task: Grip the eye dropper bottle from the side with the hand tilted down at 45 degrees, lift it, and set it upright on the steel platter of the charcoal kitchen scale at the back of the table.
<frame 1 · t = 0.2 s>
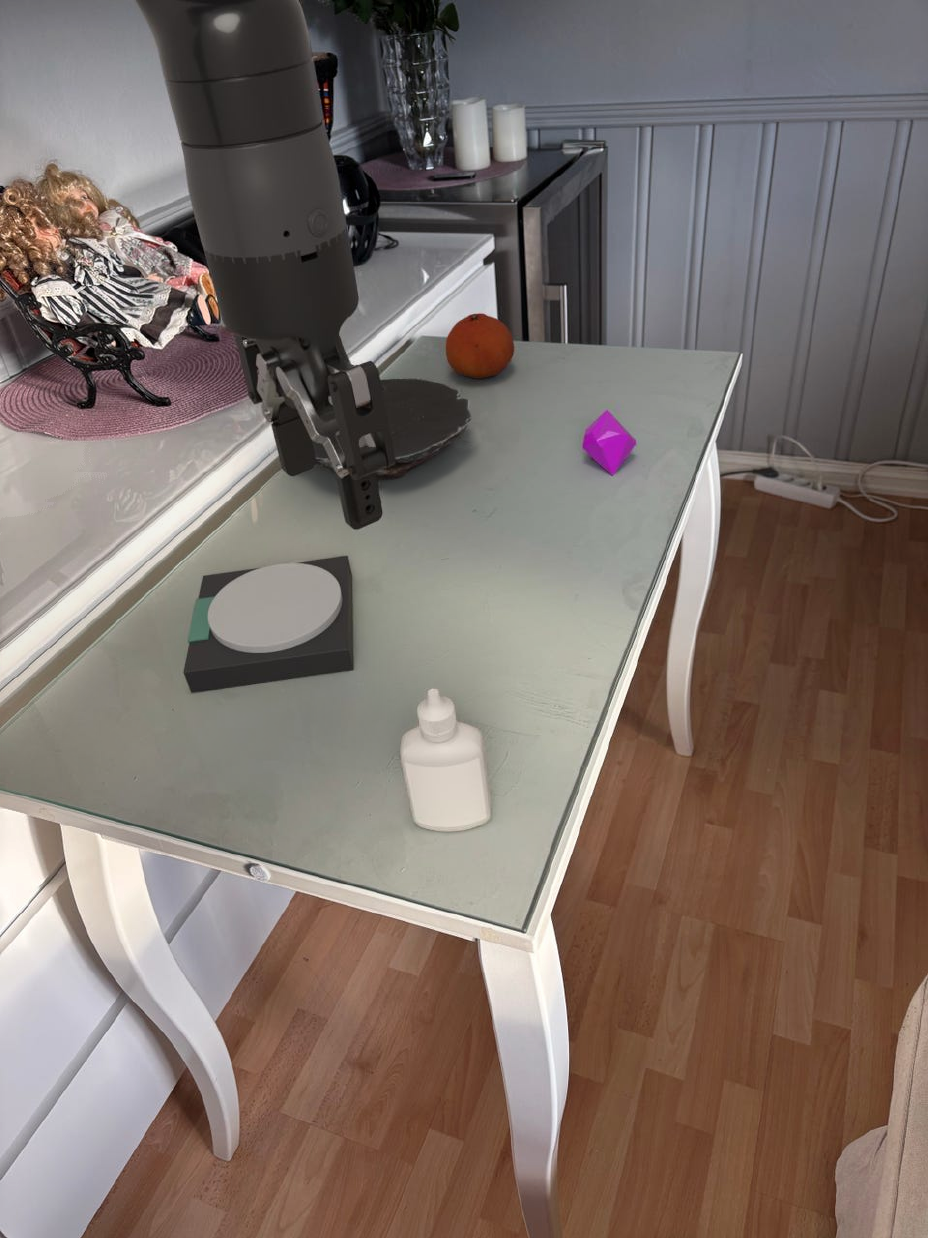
hand: (331, 495, 57), 22 cm above the table, tool pointing down, fingers open, 8 cm apart
scale: (276, 630, 83), on the table
eye dropper bottle: (453, 815, 65), on the table
fruit: (482, 375, 122), on the table
crystal: (609, 462, 101), on the table
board: (383, 454, 108), on the table
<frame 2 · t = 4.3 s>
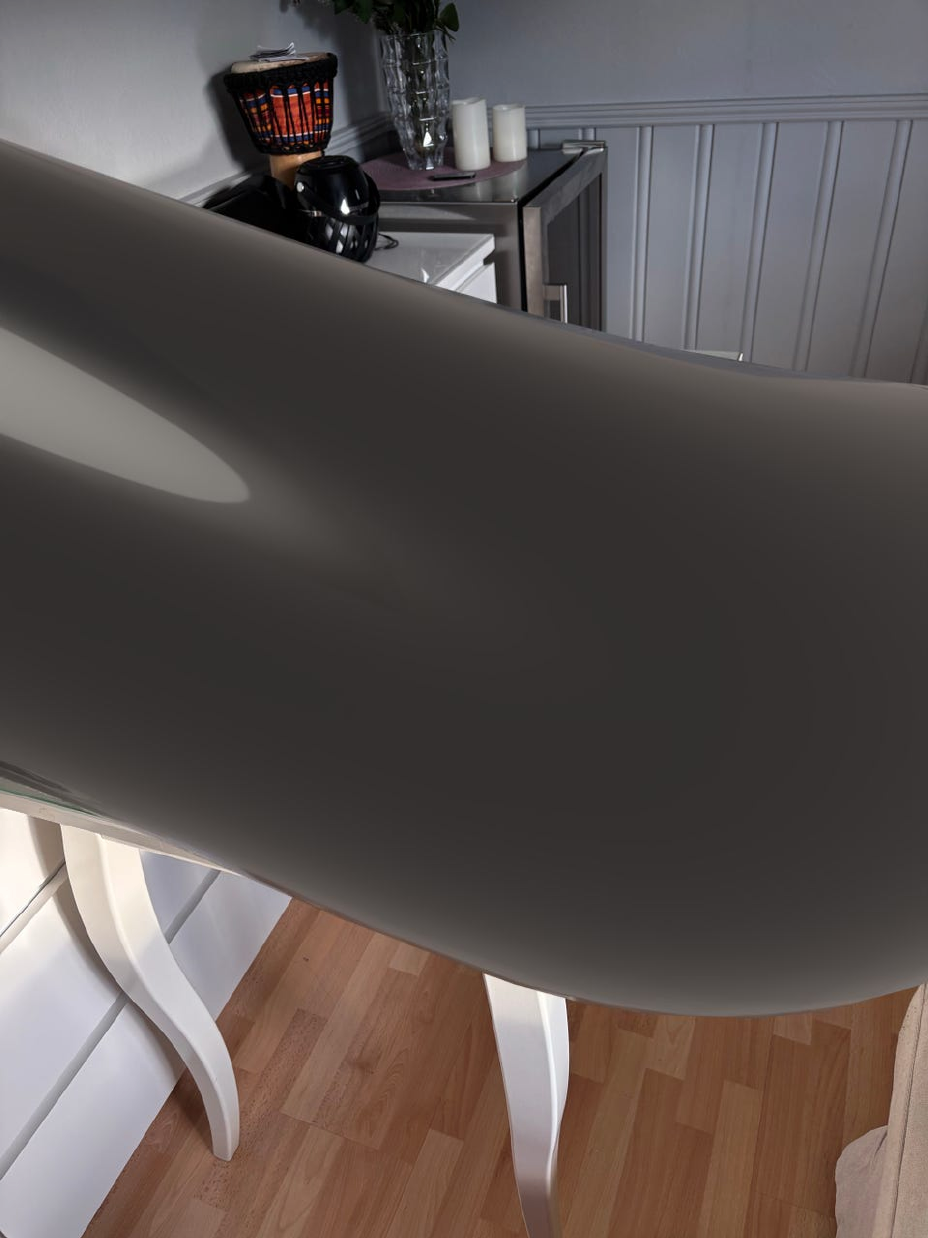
hand: (541, 752, 47), 16 cm above the table, tool tilted 45°, fingers open, 8 cm apart
nothing on the table moved.
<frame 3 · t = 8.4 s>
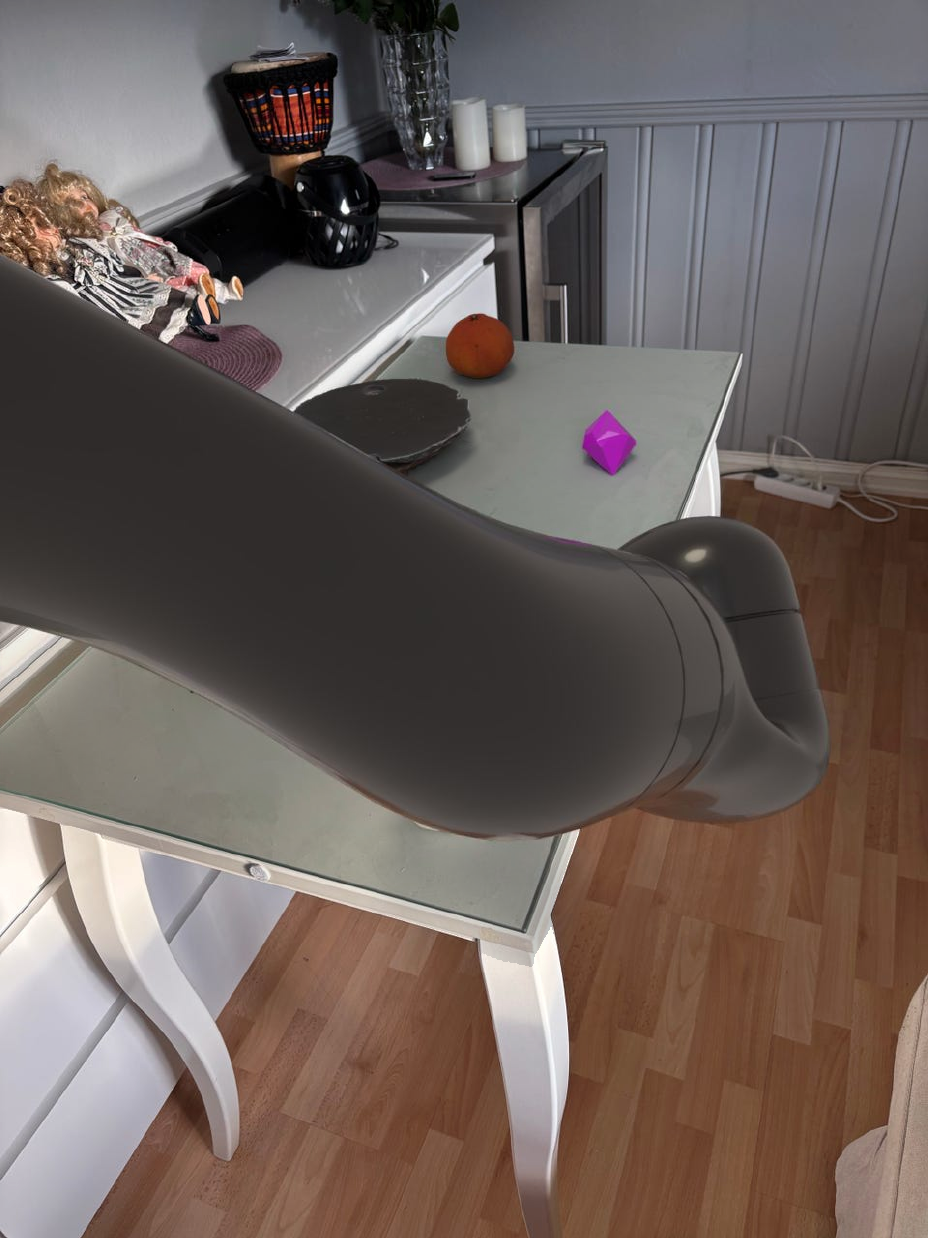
hand: (430, 744, 63), 6 cm above the table, tool tilted 45°, fingers closed on eye dropper bottle, 5 cm apart
eye dropper bottle: (453, 815, 65), on the table, touching gripper
everything else where it was.
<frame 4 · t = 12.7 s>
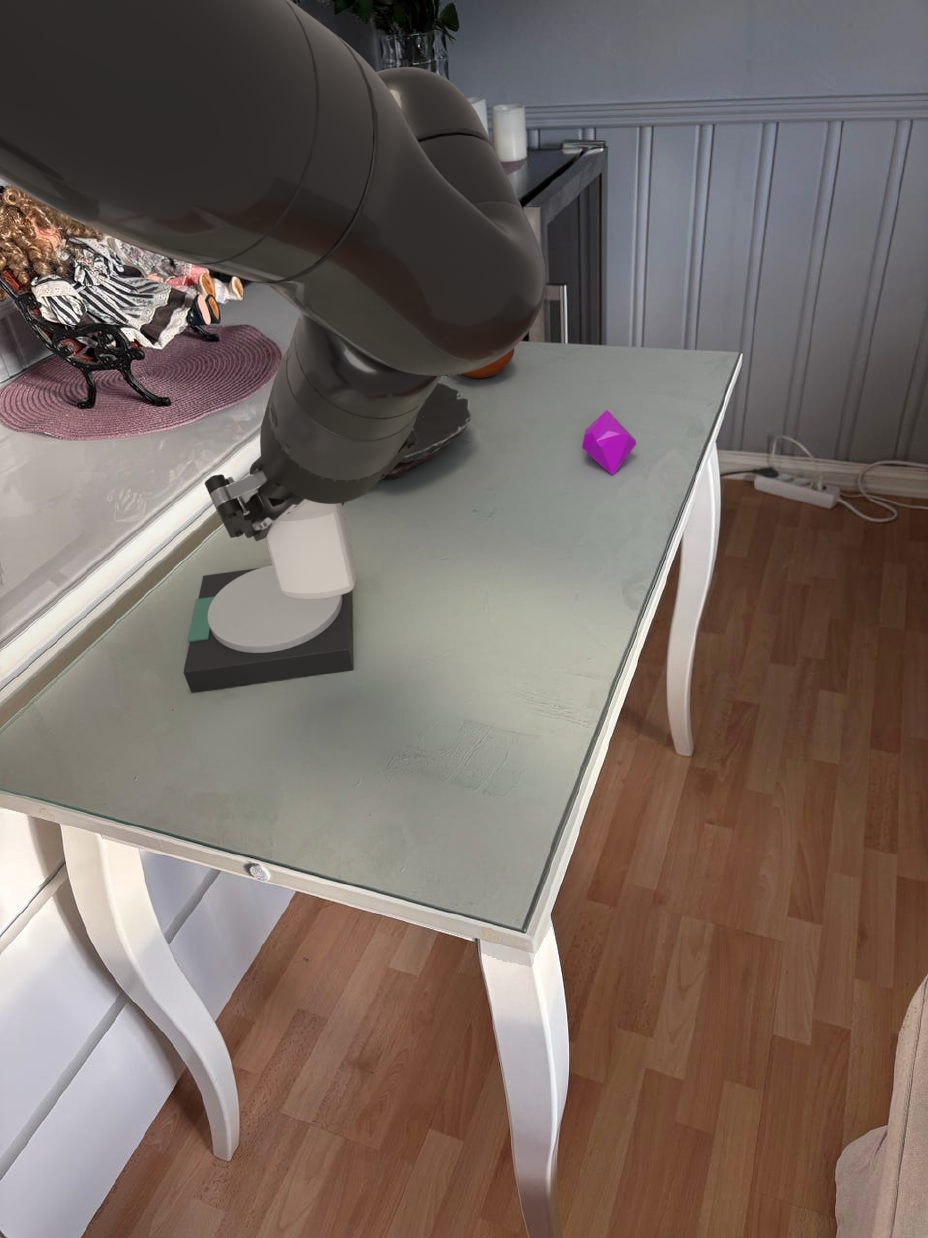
hand: (293, 511, 65), 18 cm above the table, tool tilted 45°, fingers closed on eye dropper bottle, 5 cm apart
eye dropper bottle: (320, 588, 67), point 12 cm above the table, touching gripper
everything else where it was.
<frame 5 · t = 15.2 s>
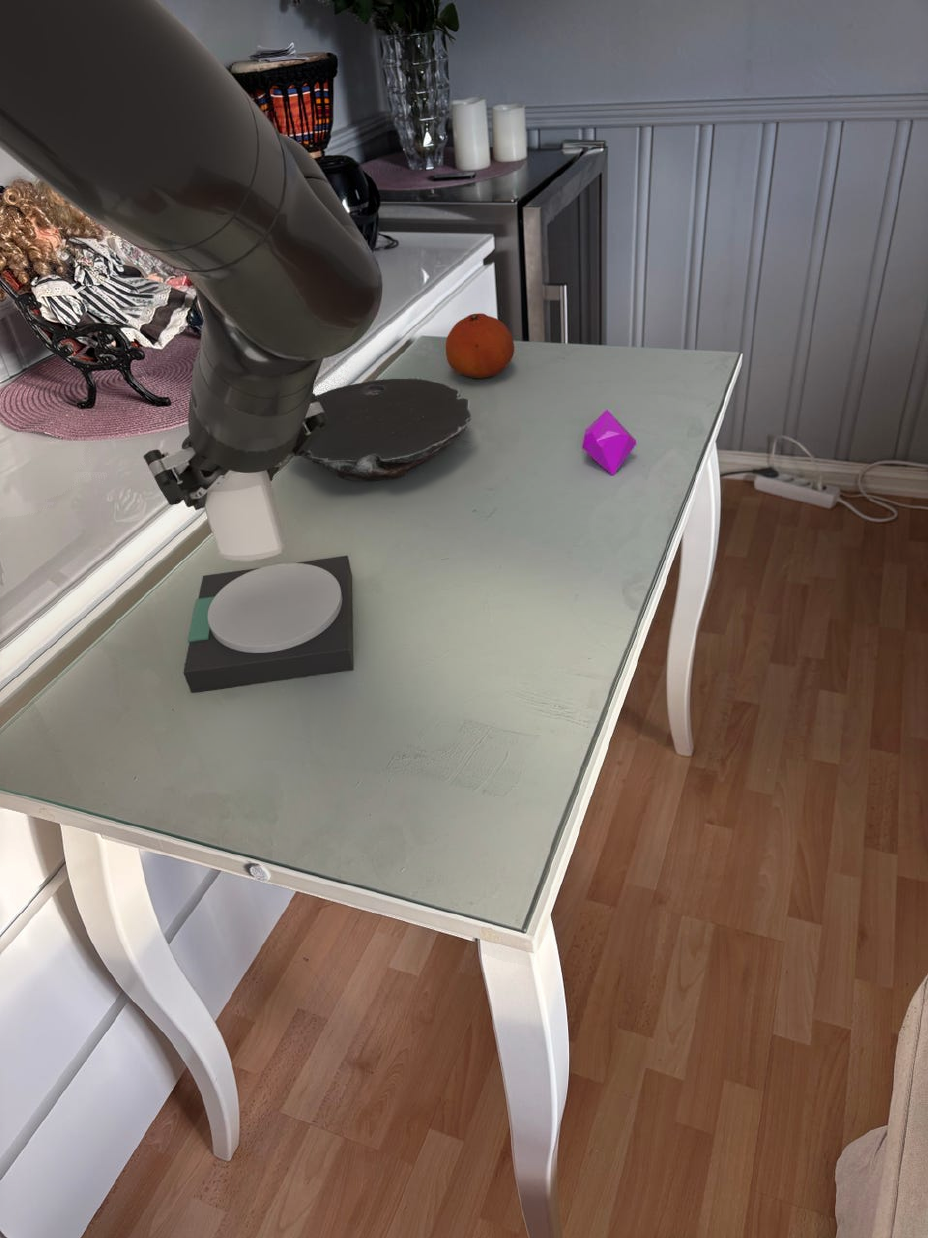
hand: (228, 484, 75), 15 cm above the table, tool tilted 45°, fingers closed on eye dropper bottle, 5 cm apart
eye dropper bottle: (254, 552, 78), point 9 cm above the table, touching gripper
everything else where it was.
when the fingers open (9 cm above the table, at t = 17.3 s): eye dropper bottle stays where it is, resting on scale.
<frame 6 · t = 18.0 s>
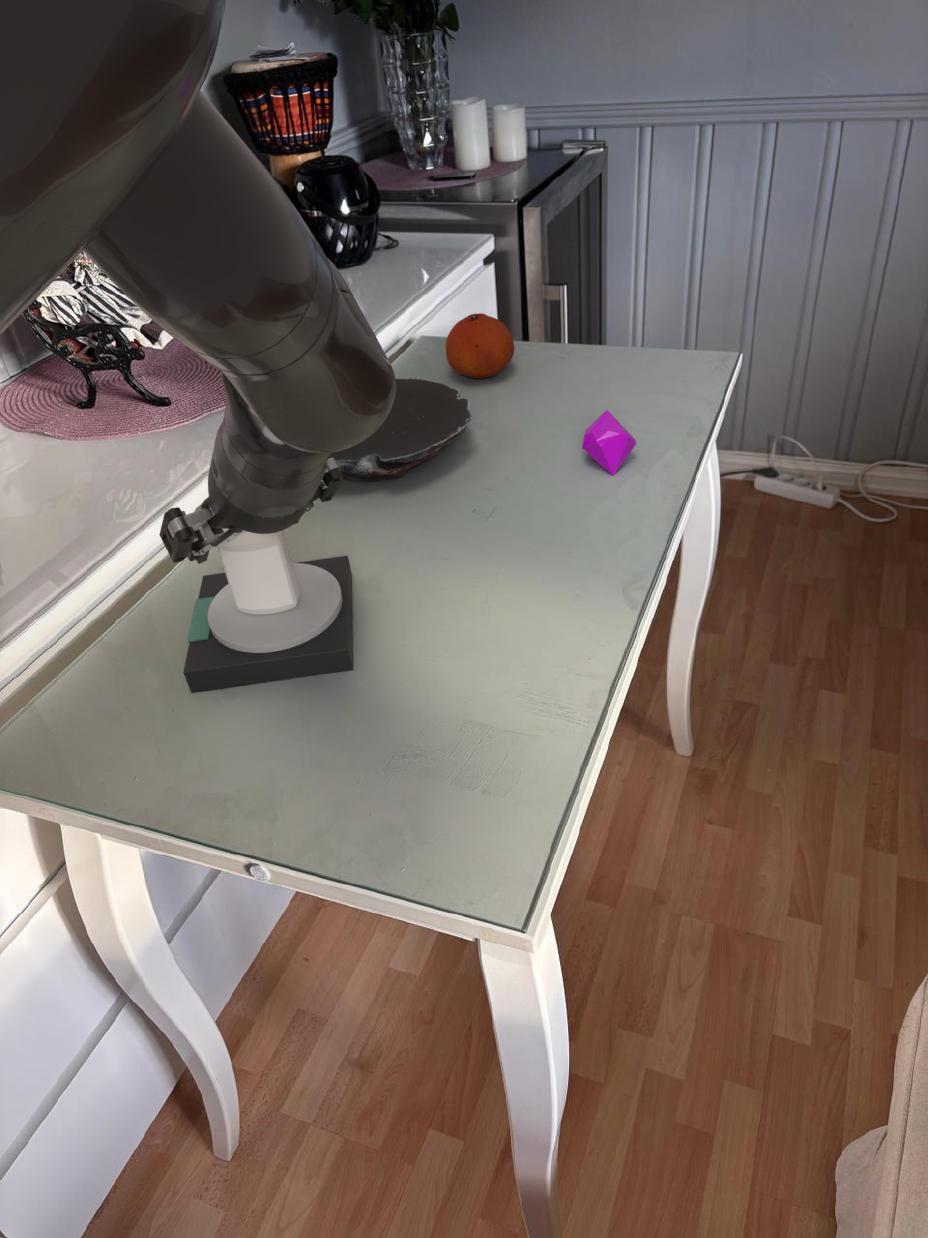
hand: (243, 532, 78), 10 cm above the table, tool tilted 45°, fingers open, 8 cm apart
eye dropper bottle: (270, 605, 81), point 3 cm above the table, touching scale
everything else where it was.
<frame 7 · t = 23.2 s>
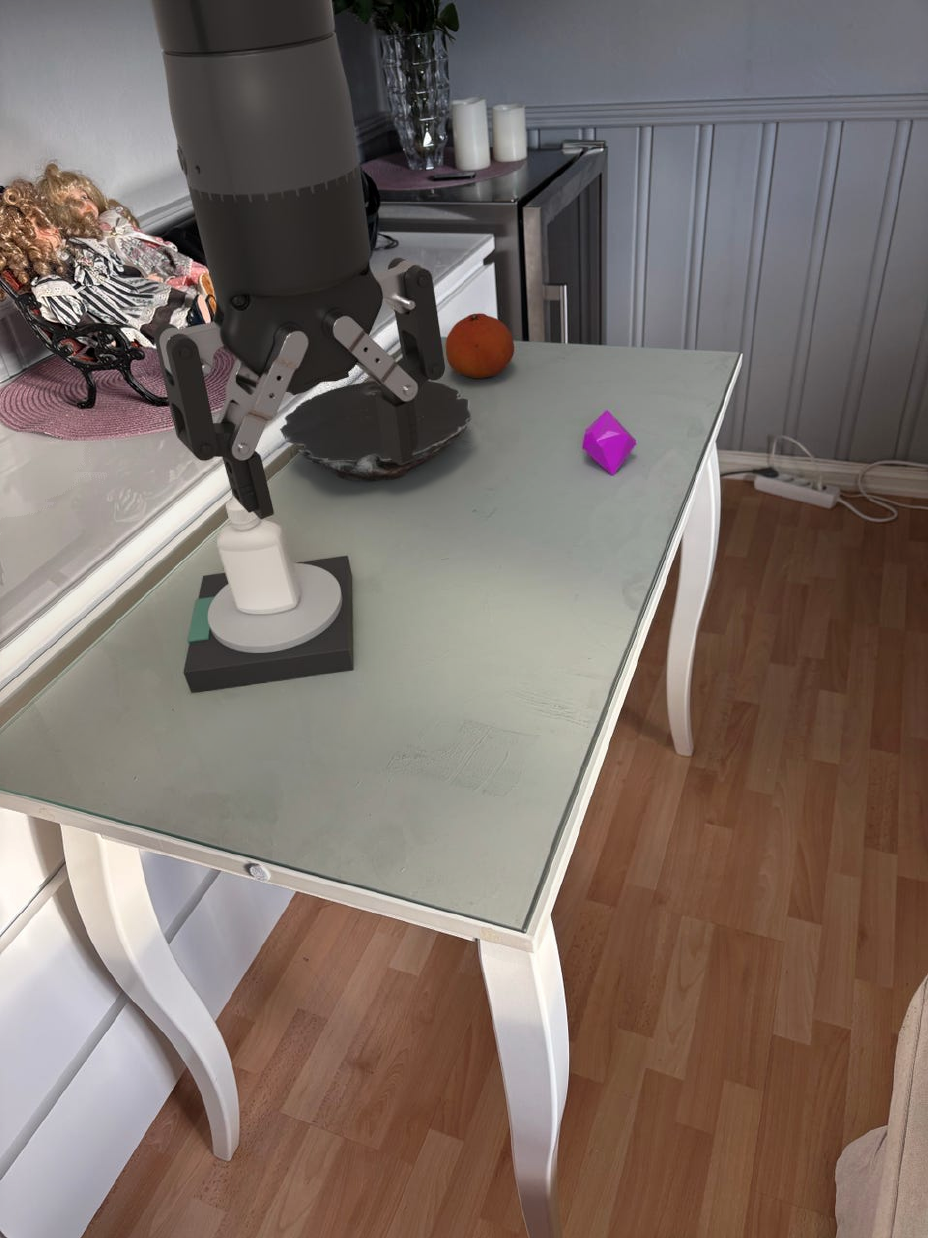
hand: (332, 483, 50), 27 cm above the table, tool pointing down, fingers open, 8 cm apart
nothing on the table moved.
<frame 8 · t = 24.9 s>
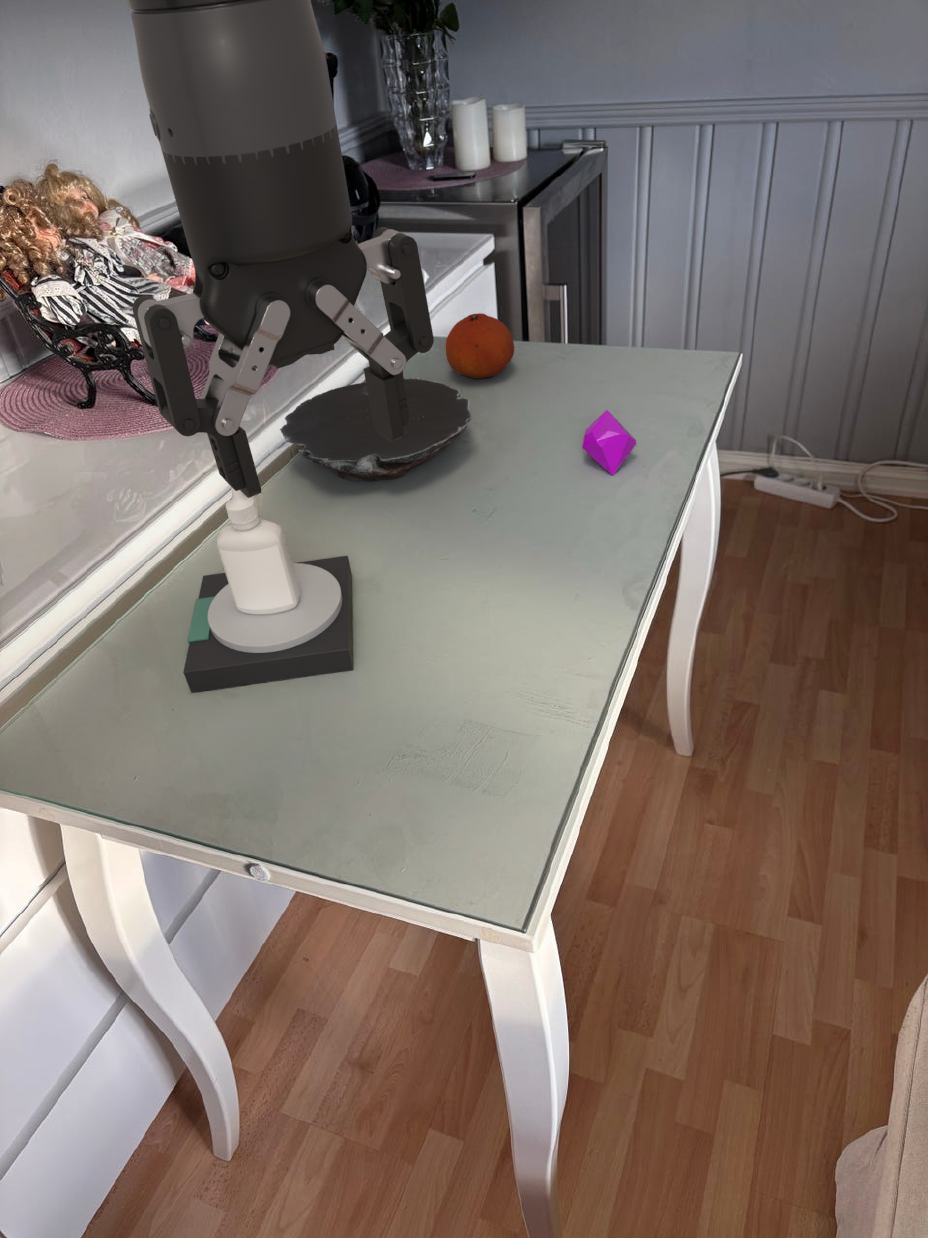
hand: (321, 461, 49), 28 cm above the table, tool pointing down, fingers open, 8 cm apart
nothing on the table moved.
at the end: eye dropper bottle inside the target area on the scale (0.2 cm from its centre), point 3.0 cm above the scale's base; eye dropper bottle tilted 0°; the gripper is holding nothing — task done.
